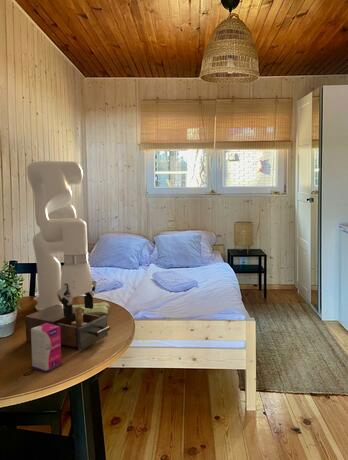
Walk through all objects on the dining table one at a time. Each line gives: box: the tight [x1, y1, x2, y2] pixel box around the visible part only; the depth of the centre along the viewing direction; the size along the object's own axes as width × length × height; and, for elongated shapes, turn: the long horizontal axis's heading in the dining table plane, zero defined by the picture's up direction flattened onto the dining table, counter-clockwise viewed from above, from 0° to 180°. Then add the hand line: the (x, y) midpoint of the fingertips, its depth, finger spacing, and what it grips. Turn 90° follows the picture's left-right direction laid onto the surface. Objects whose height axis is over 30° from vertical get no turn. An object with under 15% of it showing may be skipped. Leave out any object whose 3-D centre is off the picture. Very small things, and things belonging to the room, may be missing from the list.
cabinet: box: [24, 305, 84, 343], centre depth 140 cm, size 12×14×8 cm
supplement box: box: [30, 323, 62, 373], centre depth 117 cm, size 6×6×12 cm
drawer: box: [55, 313, 111, 351], centre depth 134 cm, size 15×13×7 cm
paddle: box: [71, 307, 87, 328], centre depth 134 cm, size 5×2×10 cm, turn 62°
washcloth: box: [71, 301, 111, 317], centre depth 162 cm, size 13×18×3 cm
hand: (79, 312), depth 134 cm, fingers open, 9 cm apart
